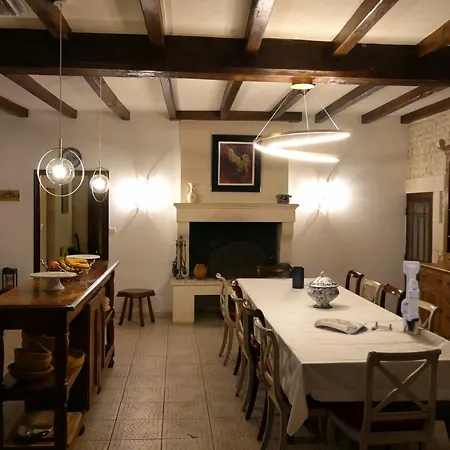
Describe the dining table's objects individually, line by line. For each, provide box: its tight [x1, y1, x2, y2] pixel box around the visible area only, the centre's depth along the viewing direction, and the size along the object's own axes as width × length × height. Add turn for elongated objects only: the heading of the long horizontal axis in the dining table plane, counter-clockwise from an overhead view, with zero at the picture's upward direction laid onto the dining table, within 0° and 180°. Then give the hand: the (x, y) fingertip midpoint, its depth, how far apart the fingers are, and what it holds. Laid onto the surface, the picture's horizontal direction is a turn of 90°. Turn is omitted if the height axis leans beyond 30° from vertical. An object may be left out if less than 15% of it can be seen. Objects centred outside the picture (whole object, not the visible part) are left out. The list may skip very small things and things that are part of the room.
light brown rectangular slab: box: [406, 322, 420, 334], centre depth 317 cm, size 4×6×7 cm
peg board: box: [371, 321, 425, 337], centre depth 323 cm, size 10×30×4 cm, turn 52°
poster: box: [313, 317, 368, 336], centre depth 334 cm, size 28×6×30 cm
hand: (412, 330), depth 317 cm, fingers open, 6 cm apart
